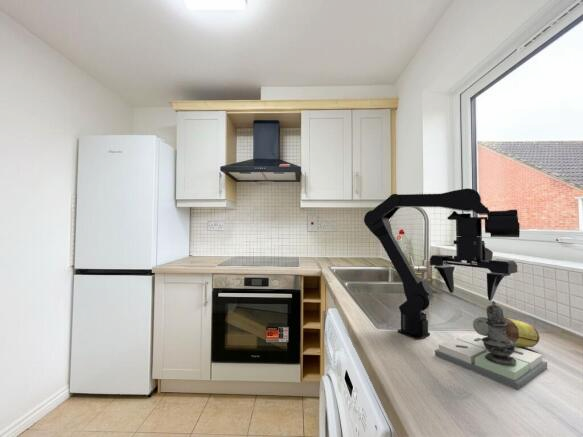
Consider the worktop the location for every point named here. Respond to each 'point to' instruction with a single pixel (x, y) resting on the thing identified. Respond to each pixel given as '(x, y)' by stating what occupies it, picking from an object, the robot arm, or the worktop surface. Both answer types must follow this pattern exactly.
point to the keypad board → (494, 375)
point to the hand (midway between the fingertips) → (470, 296)
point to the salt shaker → (498, 337)
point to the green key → (503, 367)
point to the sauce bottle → (511, 331)
